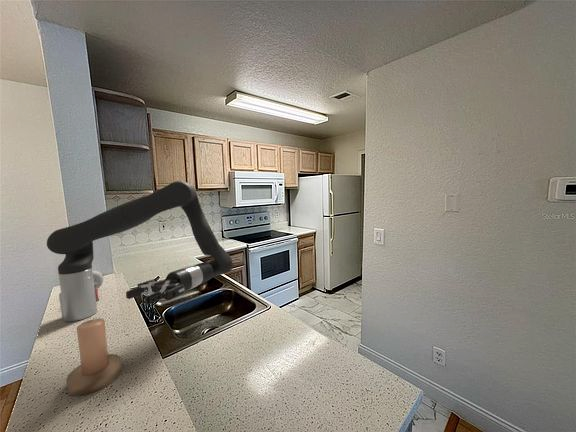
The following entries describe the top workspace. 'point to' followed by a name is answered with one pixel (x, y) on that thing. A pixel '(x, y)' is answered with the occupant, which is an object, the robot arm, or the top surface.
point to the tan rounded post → (92, 346)
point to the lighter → (96, 290)
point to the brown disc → (93, 378)
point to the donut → (98, 278)
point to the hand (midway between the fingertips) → (135, 298)
